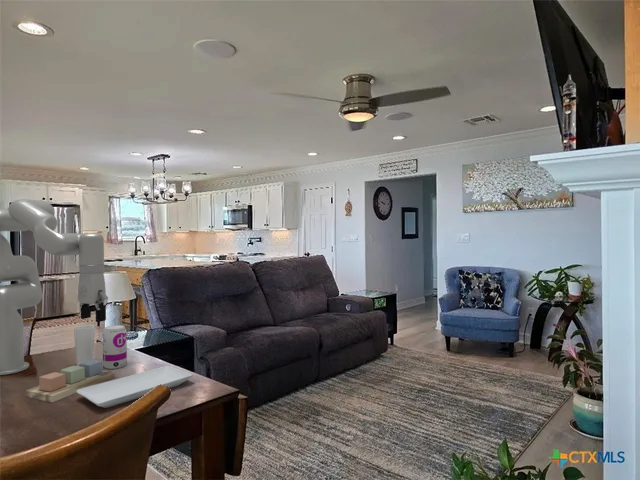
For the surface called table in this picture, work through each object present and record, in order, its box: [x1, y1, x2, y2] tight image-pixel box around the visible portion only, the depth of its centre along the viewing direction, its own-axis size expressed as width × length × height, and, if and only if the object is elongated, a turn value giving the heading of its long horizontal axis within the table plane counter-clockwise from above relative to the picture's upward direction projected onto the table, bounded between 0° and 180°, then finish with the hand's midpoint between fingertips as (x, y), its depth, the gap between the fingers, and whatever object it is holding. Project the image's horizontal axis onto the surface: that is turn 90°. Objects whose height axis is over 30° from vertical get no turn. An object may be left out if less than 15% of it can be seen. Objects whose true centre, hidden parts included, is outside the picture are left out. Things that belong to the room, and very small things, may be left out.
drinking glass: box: [73, 324, 96, 366], centre depth 161 cm, size 7×7×15 cm
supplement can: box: [102, 324, 128, 370], centre depth 161 cm, size 8×8×15 cm
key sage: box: [59, 365, 85, 385], centre depth 140 cm, size 5×5×4 cm
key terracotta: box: [38, 371, 65, 393], centre depth 134 cm, size 5×5×4 cm
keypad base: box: [24, 369, 116, 403], centre depth 140 cm, size 12×23×2 cm, turn 159°
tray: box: [75, 365, 194, 409], centre depth 136 cm, size 17×31×4 cm, turn 140°
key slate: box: [79, 359, 103, 378], centre depth 147 cm, size 5×5×4 cm
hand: (93, 319), depth 144 cm, fingers open, 9 cm apart
